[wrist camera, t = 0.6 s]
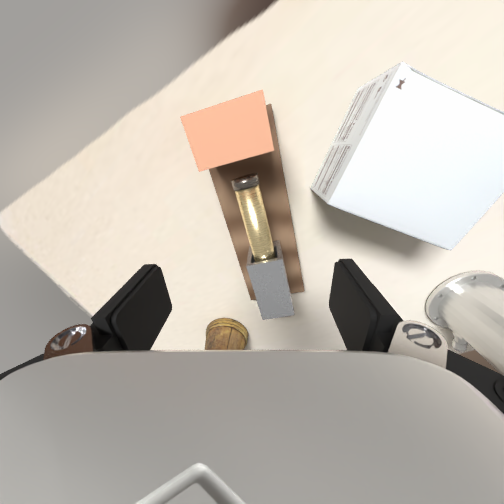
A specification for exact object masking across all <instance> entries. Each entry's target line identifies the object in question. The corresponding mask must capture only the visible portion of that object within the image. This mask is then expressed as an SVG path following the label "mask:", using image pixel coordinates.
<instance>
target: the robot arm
mask: <svg viewBox="0 0 504 504" xmlns="http://www.w3.org/2000/svg"><path fill="white" fill-rule="evenodd" d="M329 308H330V311H331V313H332V315H333V318H334V320H335V322H336V325H337V327H338V329H339V332H340V334H341V336H342V339H343V341H344V343H345V346H346V348H347V350H150V349H151V347H152V345H153V344H154V342H155V340H156V338H157V336H158V334H159V333H160V331H161V329H162V327H163V325H164V323H165V322H166V320H167V318H168V316H169V314H170V312H171V310H172V304H171V300H170V297H169V294H168V290H167V287H166V284H165V280H164V277H163V273H162V270H161V268H160V267H158V266H157V265H156V264H146V265H143V266H142V267H141V268H140V269H139V270H138V271H137V272H136V273H135V274H134V275H133V276H132V277H131V278H130V279H129V280H128V282H127V283H126V284H125V285H124V286H123V287H122V288H121V289H120V290H119V291H118V292H117V293H116V294H115V295H114V296H113V297H112V298H111V299H110V300H109V301H108V302H107V303H106V304H105V305H104V306H103V307H102V308H101V309H100V310H99V311H98V312H97V313H96V314H95V315H94V316H93V317H92V318H91V319H92V321H93V323H92V324H91V326H89V325H87V324H78V325H74V326H71V327H68V328H66V329H64V330H62V331H61V332H59V333H57V334H56V335H55V336H54V337H52V338H51V339H50V340H49V342H48V343H47V345H46V347H45V351H44V354H42V355H40V356H37V357H35V358H33V359H31V360H29V361H27V362H25V363H23V364H21V365H18V366H16V367H14V368H12V369H10V370H8V371H6V372H4V373H2V374H0V504H504V280H503V279H502V278H500V277H499V276H497V275H495V274H493V273H490V272H485V271H472V272H466V273H462V274H459V275H456V276H454V277H452V278H450V279H448V280H446V281H444V282H443V283H442V284H440V285H439V286H438V287H437V288H436V289H435V290H434V291H433V292H432V293H431V294H430V296H429V298H428V300H427V302H426V313H427V315H428V317H429V318H430V319H431V320H432V321H433V322H434V323H435V324H437V325H439V326H442V327H445V328H450V329H451V330H452V331H453V335H454V339H453V342H452V347H453V348H454V349H456V350H458V351H465V350H466V347H467V343H469V344H470V345H471V346H472V347H473V348H474V349H475V350H476V351H477V352H478V353H479V354H480V355H481V356H482V357H483V358H485V360H487V361H488V362H489V363H490V364H491V365H492V366H493V367H494V368H495V369H496V370H497V371H498V372H499V373H500V374H499V373H497V372H495V371H493V370H491V369H488V368H486V367H484V366H482V365H480V364H478V363H475V362H473V361H471V360H469V359H467V358H465V357H463V356H461V355H459V354H456V353H454V352H452V351H450V350H448V345H447V341H446V340H445V338H444V337H443V336H442V335H441V334H440V333H439V332H438V331H437V330H435V329H434V328H432V327H430V326H428V325H426V324H424V323H421V322H417V321H411V320H407V321H403V320H402V319H401V317H400V316H399V315H398V314H397V313H396V311H395V310H394V309H393V308H392V306H391V305H390V304H389V303H388V302H387V300H386V299H385V298H384V297H383V295H382V294H381V293H380V292H379V291H378V289H377V288H376V287H375V286H374V285H373V284H372V283H371V282H370V280H369V279H368V278H367V277H366V276H365V274H364V273H363V272H362V271H361V269H360V268H359V267H358V266H357V265H356V263H355V262H354V261H353V260H352V259H339V261H338V262H335V266H334V273H333V279H332V286H331V293H330V299H329Z"/></svg>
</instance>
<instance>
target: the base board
mask: <svg viewBox="0 0 504 504" xmlns="http://www.w3.org/2000/svg"><path fill="white" fill-rule="evenodd" d="M266 109H267V115H268V120H269V125H270V131H271V136H272V141H273V147H274V151H271V152H267V153H264V154H260V155H257V156H253V157H249V158H246V159H242V160H239V161H235V162H232V163H228V164H225V165H221V166H218V167H214V168H210V169H209V171H210V174H211V177H212V180H213V183H214V186H215V189H216V193H217V196H218V199H219V202H220V205H221V208H222V211H223V214H224V217H225V220H226V223H227V227H228V230H229V233H230V236H231V239H232V242H233V245H234V248H235V251H236V254H237V258H238V261H239V264H240V267H241V270H242V273H243V276H244V279H245V282H246V285H247V288H248V292H249V295H250V298H251V300H256V296H255V293H254V290H253V287H252V283H251V280H250V277H249V274H248V270H247V267H246V265H247V258H248V251H249V246H250V243H249V240H248V236H247V233H246V229H245V226H244V222H243V219H242V215H241V212H240V208H239V204H238V201H237V197H236V194H235V191H234V190H233V186H232V183H231V180H233V179H235V178H238V177H241V176H245V175H248V174H253V173H258V178H259V182H260V184H259V185H260V190H261V194H262V198H263V203H264V207H265V211H266V216H267V220H268V224H269V229H270V233H271V237H272V241H276V240H279V241H280V246H281V250H282V255H283V260H284V264H285V269H286V274H287V278H288V283H289V288H290V293H297V292H303V291H304V286H303V280H302V275H301V269H300V263H299V258H298V252H297V247H296V241H295V235H294V230H293V224H292V218H291V213H290V207H289V202H288V196H287V190H286V185H285V179H284V174H283V168H282V162H281V157H280V151H279V145H278V140H277V134H276V129H275V123H274V117H273V112H272V106H271V104H269V105H266Z"/></svg>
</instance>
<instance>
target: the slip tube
mask: <svg viewBox="0 0 504 504" xmlns="http://www.w3.org/2000/svg"><path fill="white" fill-rule="evenodd" d="M231 183H232V186H233V190H234V191H235V194H236V197H237V201H238V204H239V208H240V212H241V215H242V219H243V222H244V226H245V229H246V233H247V236H248V240H249V243H250V247H251V250H252V254H253V257H254V261H255V262H260V261H265V260H270V259H275V258H276V255H275V250H274V246H273V242H272V237H271V233H270V229H269V224H268V220H267V216H266V211H265V207H264V203H263V198H262V194H261V190H260V185H259V184H260V182H259V178H258V173H253V174H248V175H245V176H241V177H238V178H235V179H233V180H231Z"/></svg>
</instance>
